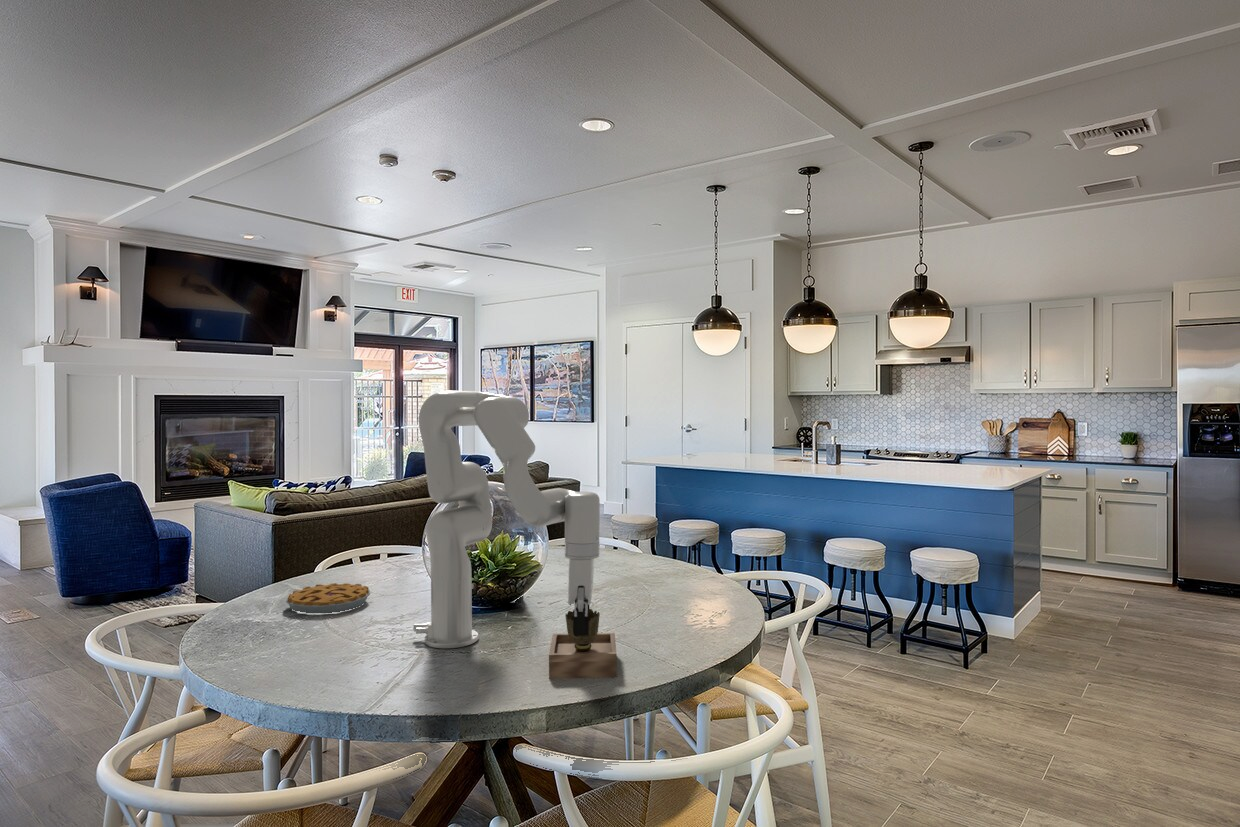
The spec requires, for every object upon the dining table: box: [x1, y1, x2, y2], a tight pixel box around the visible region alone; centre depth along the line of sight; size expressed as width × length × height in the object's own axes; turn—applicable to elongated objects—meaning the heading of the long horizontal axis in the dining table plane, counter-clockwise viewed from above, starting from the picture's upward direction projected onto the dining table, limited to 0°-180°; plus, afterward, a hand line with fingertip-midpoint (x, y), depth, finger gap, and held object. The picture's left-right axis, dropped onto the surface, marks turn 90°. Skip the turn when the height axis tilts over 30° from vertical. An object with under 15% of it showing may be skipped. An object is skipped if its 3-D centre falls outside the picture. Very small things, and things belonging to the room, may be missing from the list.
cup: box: [565, 608, 601, 652], centre depth 159 cm, size 8×7×8 cm
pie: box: [285, 582, 371, 613], centre depth 208 cm, size 22×22×5 cm
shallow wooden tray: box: [548, 632, 618, 680], centre depth 159 cm, size 14×14×6 cm
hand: (581, 627), depth 159 cm, fingers open, 9 cm apart
